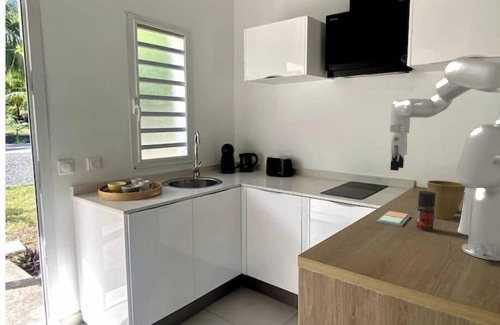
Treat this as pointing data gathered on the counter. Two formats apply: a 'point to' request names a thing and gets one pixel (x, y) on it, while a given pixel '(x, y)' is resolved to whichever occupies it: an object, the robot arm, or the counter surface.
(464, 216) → the cosmetic bottle
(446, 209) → the plant pot
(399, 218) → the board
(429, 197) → the deodorant
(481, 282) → the counter surface
